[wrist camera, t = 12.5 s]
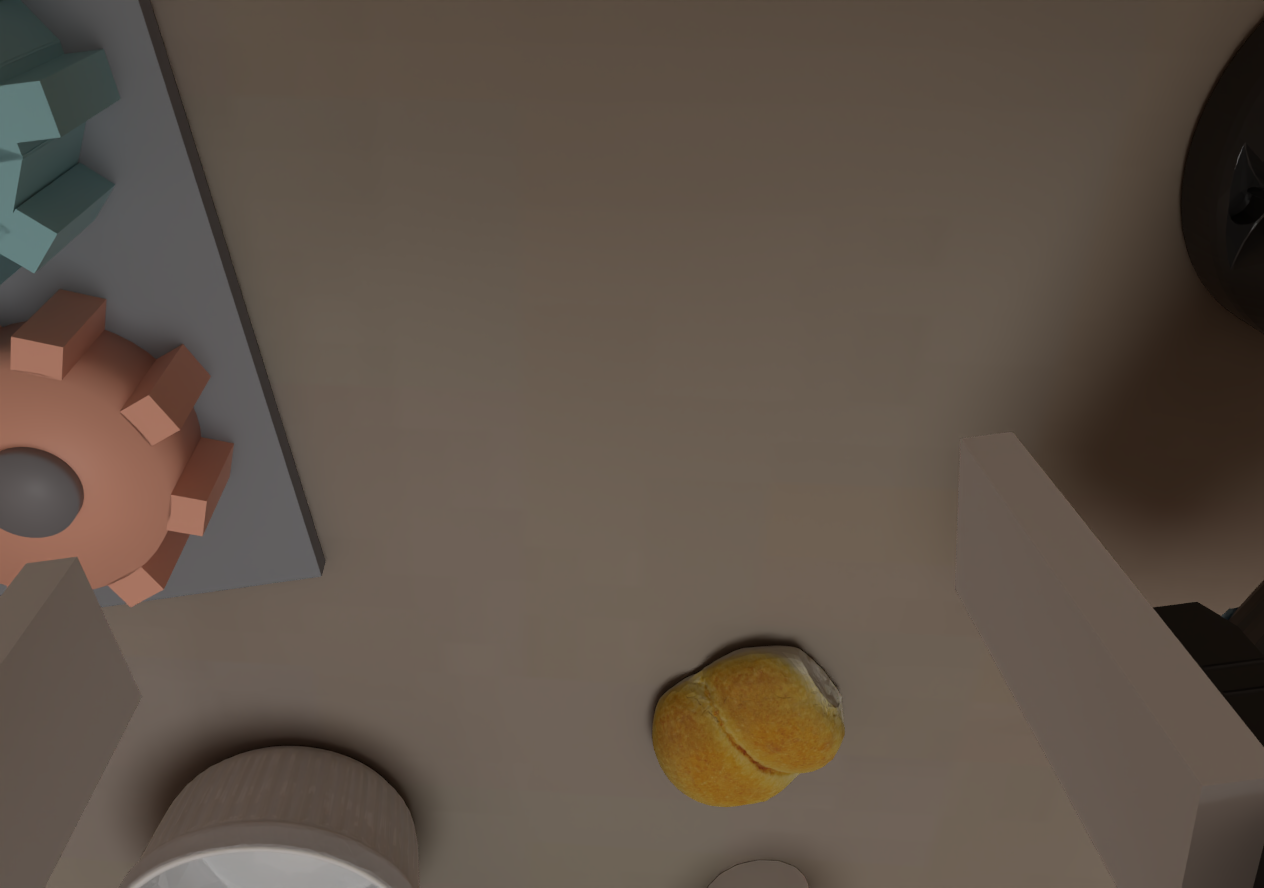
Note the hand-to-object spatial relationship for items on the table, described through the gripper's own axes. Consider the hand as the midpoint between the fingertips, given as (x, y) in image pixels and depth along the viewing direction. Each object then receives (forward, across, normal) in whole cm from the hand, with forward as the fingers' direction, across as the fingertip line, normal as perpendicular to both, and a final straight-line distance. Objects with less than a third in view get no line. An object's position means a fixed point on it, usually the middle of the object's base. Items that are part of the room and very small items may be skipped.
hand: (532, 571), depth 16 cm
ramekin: (+24, +17, +30) cm, 42 cm away
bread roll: (+25, -5, +27) cm, 37 cm away
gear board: (+23, +19, +1) cm, 30 cm away
